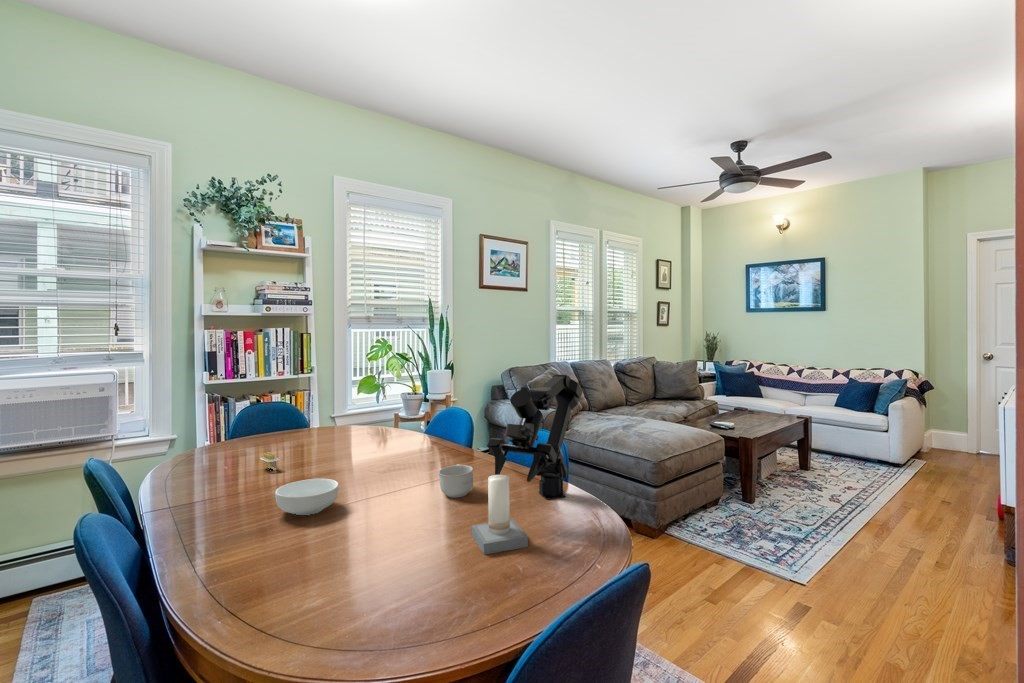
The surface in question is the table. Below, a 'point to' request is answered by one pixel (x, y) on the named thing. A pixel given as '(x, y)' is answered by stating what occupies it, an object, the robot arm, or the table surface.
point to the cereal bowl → (306, 496)
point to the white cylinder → (498, 504)
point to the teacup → (456, 480)
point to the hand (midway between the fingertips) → (511, 478)
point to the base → (499, 538)
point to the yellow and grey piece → (270, 459)
